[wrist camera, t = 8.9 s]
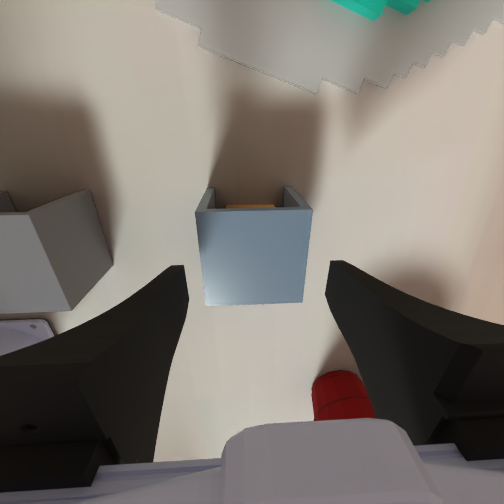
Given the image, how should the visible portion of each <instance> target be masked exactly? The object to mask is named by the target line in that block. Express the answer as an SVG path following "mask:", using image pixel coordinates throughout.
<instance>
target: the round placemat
mask: <svg viewBox="0 0 504 504" xmlns="http://www.w3.org/2000/svg"><path fill="white" fill-rule="evenodd" d="M156 10H157V11H159V12H162V13H164V14H166V15H169V16H171V17H174V18H176V19H178V20H181V21H183V22H186V23H188V24H190V25H193V26H195V27H197V28H200V29H201V33H200V39H199V45H198V46H199V47H200V48H202V49H205V50H207V51H210V52H212V53H215V54H217V55H220V56H222V57H225V58H227V59H229V60H232V61H234V62H237V63H239V64H242V65H244V66H247V67H249V68H252V69H254V70H257V71H259V72H262V73H264V74H267V75H269V76H272V77H274V78H277V79H279V80H281V81H284V82H286V83H289V84H291V85H294V86H296V87H299V88H301V89H304V90H306V91H309V92H311V93H314V94H317V92H318V89H319V86H320V84H321V81H322V80H324V81H327V82H329V83H331V84H334V85H336V86H338V87H341V88H343V89H346V90H348V91H350V92H353V93H355V94H357V93H358V92H359V90H360V87H361V85H362V83H363V80H366V81H368V82H371V83H373V84H375V85H378V86H380V87H382V88H388V86H389V83H390V81H391V79H392V77H393V75H396V76H399V77H401V78H406V76H407V74H408V72H409V70H410V68H411V66H412V64H414V65H416V66H418V67H420V68H423V67H425V66H426V64H427V62H428V60H429V58H430V56H431V54H432V53H433V54H435V55H437V56H439V57H443V56H445V54H446V52H447V50H448V49H449V47H450V45H451V43H452V42H453V43H455V44H457V45H459V46H463V45H465V43H466V41H467V40H468V38H469V36H470V34H471V32H472V31H474V32H476V33H477V34H479V35H482V34H485V33H486V31H487V29H488V28H489V26H490V24H491V22H492V21H493V19H494V20H496V21H498V22H499V23H501V24H502V23H504V0H156Z"/></svg>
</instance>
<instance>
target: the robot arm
mask: <svg viewBox="0 0 504 504" xmlns="http://www.w3.org/2000/svg"><path fill="white" fill-rule="evenodd" d="M325 296H326V299H327V302H328V305H329V308H330V310H331V313H332V315H333V317H334V319H335V321H336V323H337V325H338V327H339V329H340V330H341V332H342V334H343V336H344V338H345V340H346V342H347V344H348V346H349V348H350V350H351V352H352V354H353V356H354V358H355V361H356V363H357V366H358V368H359V371H360V374H361V376H362V379H363V381H364V384H365V387H366V390H367V393H368V395H369V398H370V401H371V404H372V407H373V410H374V413H375V416H376V419H374V418H359V419H342V420H325V421H308V422H291V423H274V424H264V425H259V426H254V427H250V428H245V429H244V430H242V431H241V432H239V433H237V434H236V435H234V436H233V437H231V438H230V439H229V440H228V441H227V442H226V444H225V447H224V450H223V452H222V457H221V458H214V459H199V460H183V461H167V462H153V459H154V452H155V446H156V440H157V434H158V428H159V422H160V416H161V411H162V406H163V400H164V395H165V390H166V385H167V381H168V376H169V371H170V367H171V363H172V359H173V356H174V353H175V350H176V347H177V344H178V341H179V338H180V334H181V331H182V328H183V325H184V322H185V319H186V314H187V309H188V303H189V295H188V289H187V282H186V276H185V270H184V265H172V266H170V267H168V268H167V269H166V270H164V271H163V272H162V273H161V274H159V275H158V276H157V277H156V278H154V279H153V280H152V281H151V282H149V283H148V284H147V285H146V286H144V287H143V288H141V289H140V290H139V291H137V292H136V293H134V294H133V295H132V296H130V297H129V298H127V299H126V300H124V301H123V302H121V303H120V304H118V305H117V306H115V307H113V308H111V309H110V310H108V311H106V312H105V313H103V314H101V315H99V316H97V317H95V318H93V319H91V320H89V321H87V322H85V323H83V324H81V325H79V326H77V327H75V328H72V329H70V330H68V331H66V332H63V333H61V334H59V335H56V336H54V334H53V332H52V330H51V328H50V326H49V325H48V323H47V321H45V320H43V319H30V320H6V321H0V504H504V325H500V324H496V323H492V322H488V321H484V320H481V319H477V318H473V317H470V316H466V315H463V314H460V313H456V312H453V311H450V310H447V309H444V308H442V307H439V306H436V305H433V304H430V303H428V302H425V301H423V300H420V299H418V298H415V297H413V296H411V295H408V294H406V293H404V292H402V291H399V290H397V289H395V288H393V287H391V286H389V285H387V284H386V283H384V282H382V281H380V280H378V279H376V278H374V277H373V276H371V275H369V274H367V273H366V272H364V271H362V270H360V269H358V268H357V267H355V266H353V265H351V264H349V263H347V262H345V261H343V260H337V261H330V267H329V273H328V279H327V285H326V291H325Z"/></svg>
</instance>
